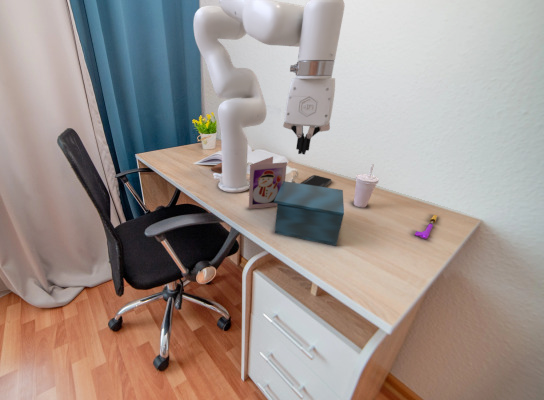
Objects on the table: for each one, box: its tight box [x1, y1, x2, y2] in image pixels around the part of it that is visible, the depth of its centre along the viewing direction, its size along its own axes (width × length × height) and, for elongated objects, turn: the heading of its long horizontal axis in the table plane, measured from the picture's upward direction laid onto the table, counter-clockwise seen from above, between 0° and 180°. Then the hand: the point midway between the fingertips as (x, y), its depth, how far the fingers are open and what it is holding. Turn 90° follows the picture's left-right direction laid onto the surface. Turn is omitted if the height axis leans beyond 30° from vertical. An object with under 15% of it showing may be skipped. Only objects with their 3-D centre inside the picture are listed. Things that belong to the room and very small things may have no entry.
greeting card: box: [248, 156, 288, 210], centre depth 78 cm, size 11×7×15 cm, turn 99°
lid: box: [274, 180, 345, 217], centre depth 65 cm, size 16×14×1 cm
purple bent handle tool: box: [414, 214, 438, 240], centre depth 67 cm, size 3×1×16 cm
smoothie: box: [353, 163, 380, 208], centre depth 76 cm, size 6×6×14 cm
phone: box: [299, 174, 332, 188], centre depth 93 cm, size 8×1×15 cm
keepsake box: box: [274, 204, 344, 247], centre depth 67 cm, size 16×14×9 cm
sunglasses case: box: [210, 161, 222, 174], centre depth 113 cm, size 18×7×7 cm, turn 140°
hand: (302, 152), depth 61 cm, fingers closed
